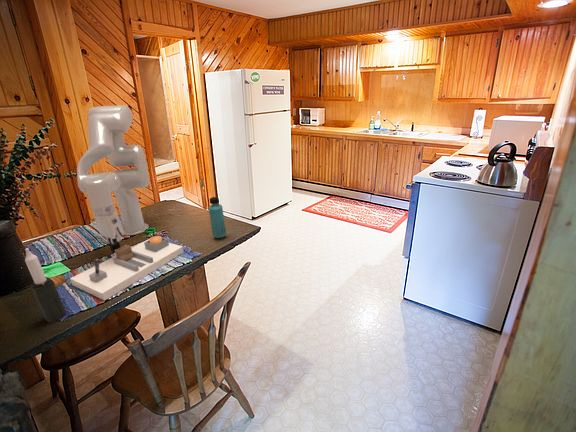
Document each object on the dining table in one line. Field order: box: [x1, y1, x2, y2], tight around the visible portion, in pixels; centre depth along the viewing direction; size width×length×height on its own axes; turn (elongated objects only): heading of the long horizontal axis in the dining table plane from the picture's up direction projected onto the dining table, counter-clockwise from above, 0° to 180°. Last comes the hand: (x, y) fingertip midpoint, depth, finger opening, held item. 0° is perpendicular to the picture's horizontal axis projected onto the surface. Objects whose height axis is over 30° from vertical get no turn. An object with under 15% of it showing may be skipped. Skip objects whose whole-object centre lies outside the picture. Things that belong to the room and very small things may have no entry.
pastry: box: [48, 275, 67, 289], centre depth 114 cm, size 9×7×4 cm
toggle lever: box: [93, 258, 101, 274], centre depth 110 cm, size 2×2×7 cm
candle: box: [24, 247, 67, 324], centre depth 94 cm, size 5×5×25 cm
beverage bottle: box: [208, 196, 227, 239], centre depth 142 cm, size 6×7×20 cm
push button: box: [148, 235, 163, 245], centre depth 133 cm, size 5×5×4 cm
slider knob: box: [114, 244, 134, 261], centre depth 123 cm, size 3×5×5 cm, turn 151°
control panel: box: [70, 237, 184, 302], centre depth 123 cm, size 20×36×6 cm, turn 151°
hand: (116, 251), depth 126 cm, fingers closed
